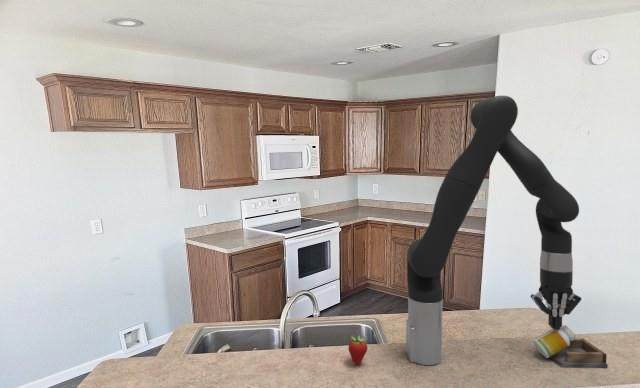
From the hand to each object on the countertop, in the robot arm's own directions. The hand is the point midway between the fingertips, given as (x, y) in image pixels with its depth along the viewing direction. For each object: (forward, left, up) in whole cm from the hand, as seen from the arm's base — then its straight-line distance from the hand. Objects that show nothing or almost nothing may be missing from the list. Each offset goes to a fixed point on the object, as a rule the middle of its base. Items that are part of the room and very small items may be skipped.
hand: (555, 328), depth 99 cm
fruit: (-55, -5, -9) cm, 56 cm away
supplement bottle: (-4, 0, -6) cm, 8 cm away
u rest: (+5, 0, -8) cm, 10 cm away
